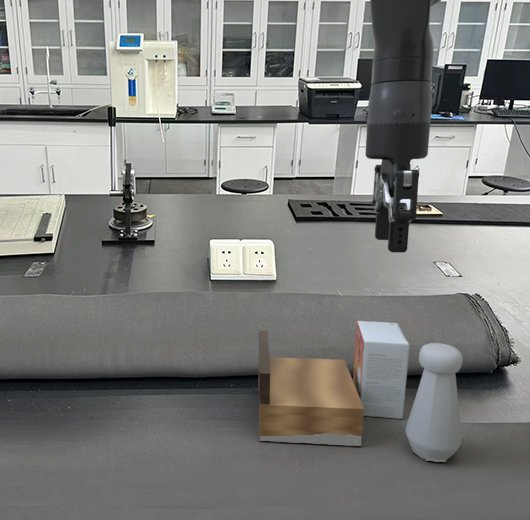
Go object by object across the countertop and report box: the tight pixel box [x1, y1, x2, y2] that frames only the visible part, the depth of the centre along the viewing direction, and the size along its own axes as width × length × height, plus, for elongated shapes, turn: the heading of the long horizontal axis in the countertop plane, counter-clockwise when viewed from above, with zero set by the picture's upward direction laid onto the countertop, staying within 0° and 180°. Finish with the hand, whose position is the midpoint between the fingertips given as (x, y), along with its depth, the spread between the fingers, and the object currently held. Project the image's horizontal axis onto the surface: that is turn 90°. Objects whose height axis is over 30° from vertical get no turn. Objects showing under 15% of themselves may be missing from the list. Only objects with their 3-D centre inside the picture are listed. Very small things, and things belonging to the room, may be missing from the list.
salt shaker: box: [405, 342, 464, 460], centre depth 60 cm, size 6×6×13 cm
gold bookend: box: [257, 330, 365, 437], centre depth 69 cm, size 12×14×9 cm
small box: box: [352, 320, 411, 420], centre depth 71 cm, size 8×6×10 cm
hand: (389, 245), depth 71 cm, fingers open, 8 cm apart
